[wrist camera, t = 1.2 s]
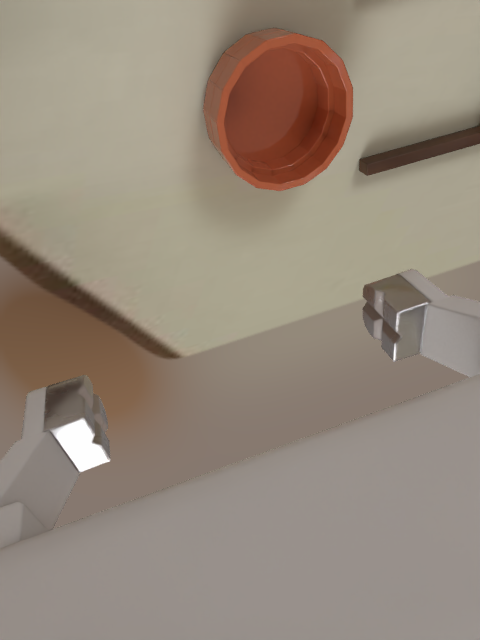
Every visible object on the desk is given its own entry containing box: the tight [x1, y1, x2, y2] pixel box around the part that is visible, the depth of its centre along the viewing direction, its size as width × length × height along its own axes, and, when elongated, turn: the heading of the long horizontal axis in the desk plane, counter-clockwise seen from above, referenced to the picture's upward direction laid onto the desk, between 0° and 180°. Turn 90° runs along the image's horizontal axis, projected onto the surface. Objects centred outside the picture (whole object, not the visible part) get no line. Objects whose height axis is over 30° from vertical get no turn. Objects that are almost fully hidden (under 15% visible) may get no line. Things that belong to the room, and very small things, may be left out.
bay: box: [359, 126, 480, 176], centre depth 40 cm, size 16×15×2 cm
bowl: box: [203, 28, 353, 191], centre depth 37 cm, size 11×11×5 cm
